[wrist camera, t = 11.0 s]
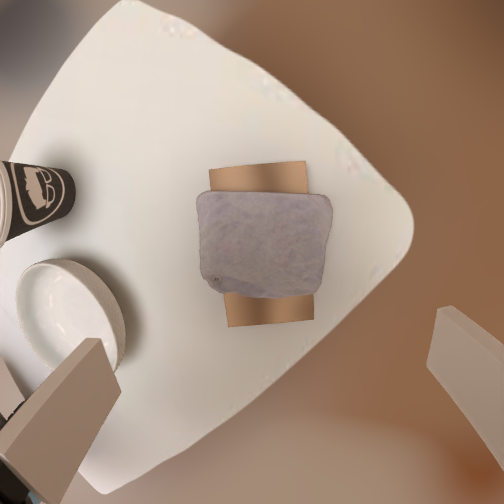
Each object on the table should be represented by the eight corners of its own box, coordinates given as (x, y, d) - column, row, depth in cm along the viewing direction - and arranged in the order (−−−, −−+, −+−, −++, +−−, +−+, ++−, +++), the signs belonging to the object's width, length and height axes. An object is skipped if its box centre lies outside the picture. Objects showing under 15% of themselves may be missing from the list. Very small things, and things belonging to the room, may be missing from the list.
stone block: (318, 279, 30) (327, 185, 25) (326, 305, 25) (339, 198, 21) (207, 276, 30) (200, 183, 26) (197, 302, 26) (186, 195, 22)
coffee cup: (46, 149, 29) (-36, 145, 14) (94, 170, 30) (5, 171, 15) (29, 213, 31) (-49, 233, 16) (73, 240, 32) (-9, 274, 17)
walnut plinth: (231, 310, 33) (228, 326, 29) (215, 171, 30) (208, 169, 26) (307, 304, 33) (313, 319, 29) (299, 163, 29) (305, 160, 25)
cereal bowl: (158, 295, 33) (136, 320, 26) (119, 377, 37) (101, 406, 30) (58, 225, 31) (24, 235, 24) (36, 316, 35) (10, 335, 28)
